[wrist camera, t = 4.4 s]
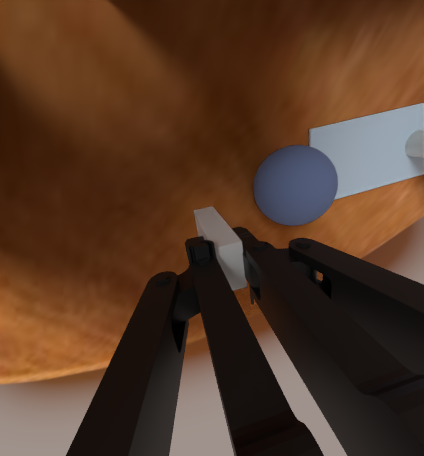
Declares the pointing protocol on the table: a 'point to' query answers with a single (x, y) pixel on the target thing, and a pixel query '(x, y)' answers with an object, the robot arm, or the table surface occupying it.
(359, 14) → the table surface
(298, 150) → the ball
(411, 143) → the pin
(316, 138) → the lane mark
